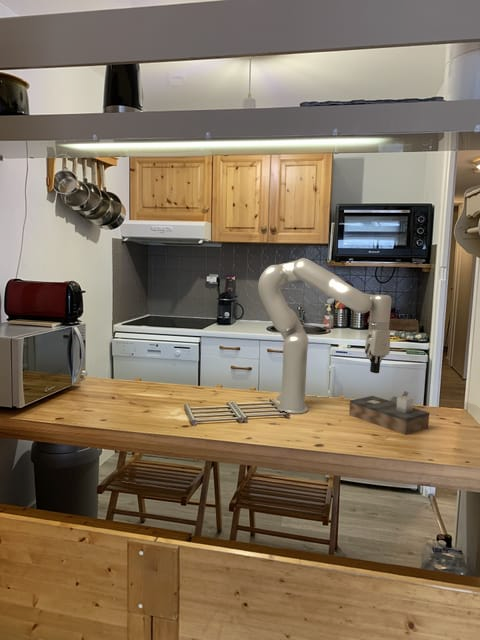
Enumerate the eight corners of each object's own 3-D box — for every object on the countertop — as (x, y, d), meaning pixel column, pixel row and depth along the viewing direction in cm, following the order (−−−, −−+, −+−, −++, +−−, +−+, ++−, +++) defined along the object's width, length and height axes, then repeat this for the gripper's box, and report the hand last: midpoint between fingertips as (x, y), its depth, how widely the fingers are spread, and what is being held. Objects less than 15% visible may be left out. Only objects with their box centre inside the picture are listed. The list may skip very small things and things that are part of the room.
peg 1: (365, 415, 193) (366, 401, 192) (371, 414, 195) (372, 399, 194) (373, 418, 189) (374, 403, 189) (380, 417, 192) (381, 402, 191)
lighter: (389, 409, 204) (391, 390, 203) (389, 407, 205) (390, 389, 204) (407, 410, 202) (408, 391, 201) (406, 409, 204) (408, 390, 203)
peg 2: (396, 413, 181) (397, 397, 180) (402, 411, 183) (403, 396, 183) (405, 416, 178) (406, 400, 177) (411, 414, 180) (413, 398, 179)
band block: (349, 415, 193) (350, 400, 192) (371, 409, 201) (372, 395, 200) (405, 434, 172) (406, 418, 171) (428, 428, 180) (429, 412, 180)
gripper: (374, 328, 181) (370, 376, 183) (398, 327, 190) (394, 372, 192) (358, 325, 187) (354, 372, 189) (383, 324, 196) (378, 368, 198)
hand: (374, 372), depth 190 cm, fingers closed
